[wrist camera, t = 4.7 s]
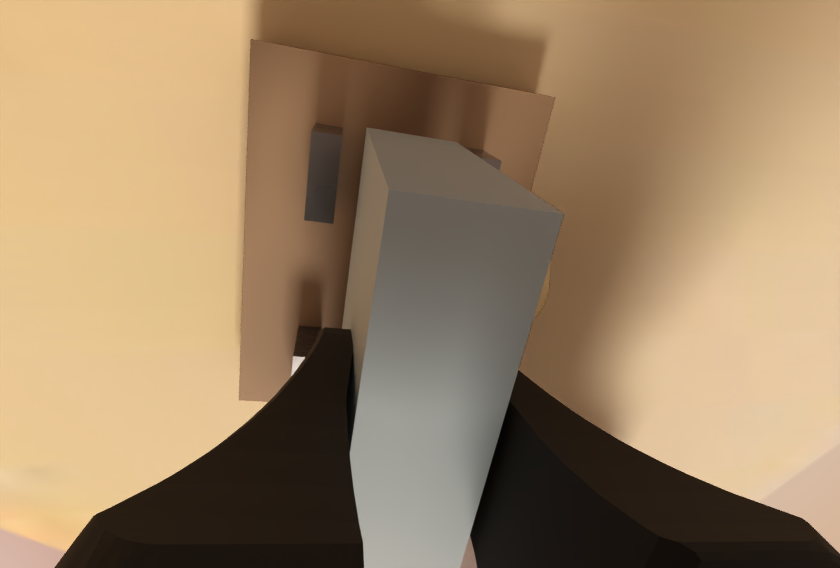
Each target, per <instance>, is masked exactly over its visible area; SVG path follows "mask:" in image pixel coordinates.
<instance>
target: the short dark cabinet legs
mask: <svg viewBox="0 0 840 568" xmlns="http://www.w3.org/2000/svg"><path fill="white" fill-rule="evenodd" d="M342 137H343V127H337V126H331V125H325V124H319V123H315V125H314V127H313V129H312V131H311V141H310V154H309V166H308V178H307V190H306V203H305V215H304V220H305V221H314V222H322V223H330V224H333V222H334V213H335V203H336V194H337V185H338V175H339V166H340V156H341V147H342ZM465 148H466V147H465ZM466 149H468V150H469V151H471V152H472V153H474V154H475V155H477V156H478V157H480V158H481V159H483V160H484V161H486V162H487V163H489V164H490V165H492V166H493V167H495V168H496V169H498V170H499V171H500V167H501V163H502V161H501V160H499V159H497V158H496V157H494V156H492V155H491V154H489V153H487V152H485V151H484V150H479V149H472V148H466ZM321 329H322V327H311V326H298V332H297V337H296V343H295V348H294V353H293V362H292V374H291V376H292V375H293V374H294V372H295V371H296V370H297V368H298V367H299V366H300V364H301V363H302V361H303V360H304V359H305V357H306V356H307V354H308V353H309V351H310V349H311V348H312V346H313V344H314V343H315V341H316V338H317V336H318V333H319V331H320V330H321Z"/></svg>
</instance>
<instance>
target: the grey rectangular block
mask: <svg viewBox="0 0 840 568" xmlns="http://www.w3.org/2000/svg"><path fill="white" fill-rule="evenodd" d="M563 216H564V213H562V212H561V211H559V210H558V209H556V208H555V207H553V206H552V205H550V204H549V203H547V202H546V201H544V200H543V199H541V198H540V197H538V196H537V195H535V194H534V193H532V192H531V191H529V190H528V189H526V188H525V187H523V186H522V185H520V184H519V183H517V182H516V181H514V180H513V179H511V178H510V177H508V176H507V175H505V174H504V173H502V172H501V171H499V170H498V169H496V168H495V167H493V166H492V165H490V164H489V163H487V162H486V161H484V160H483V159H481V158H480V157H478V156H477V155H475V154H474V153H472V152H471V151H469V150H468V149H466V148H465V147H463V146H462V145H460V144H459V143H457V142H453V141H446V140H440V139H434V138H428V137H422V136H416V135H410V134H404V133H398V132H392V131H386V130H379V129H373V128H367V129H366V137H365V145H364V153H363V161H362V169H361V177H360V185H359V194H358V202H357V210H356V218H355V226H354V234H353V242H352V250H351V258H350V266H349V274H348V283H347V291H346V299H345V307H344V315H343V323H342V329H351V334H352V341H353V353H352V361H351V368H350V375H349V383H348V390H347V398H346V408H347V426H348V439H349V452H350V462H351V471H352V479H353V488H354V495H355V501H356V507H357V513H358V520H359V525H360V530H361V535H362V540H363V552H364V568H460V567H461V563H462V560H463V557H464V553H465V550H466V546H467V543H468V539H469V536H470V533H471V529H472V526H473V522H474V519H475V516H476V512H477V509H478V505H479V502H480V499H481V495H482V492H483V488H484V485H485V482H486V478H487V475H488V471H489V468H490V465H491V461H492V458H493V454H494V451H495V448H496V444H497V441H498V437H499V434H500V431H501V427H502V424H503V420H504V417H505V414H506V410H507V407H508V403H509V400H510V397H511V393H512V390H513V386H514V383H515V380H516V376H517V373H518V369H519V366H520V363H521V359H522V356H523V352H524V349H525V346H526V342H527V339H528V335H529V332H530V329H531V325H532V322H533V318H534V317H536V316H537V315H538V314H539V313H540V311H541V310H542V308H543V306H544V304H545V301H546V298H547V295H548V290H549V284H550V260H551V257H552V254H553V250H554V247H555V243H556V240H557V237H558V233H559V230H560V226H561V223H562V220H563Z"/></svg>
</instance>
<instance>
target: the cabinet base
mask: <svg viewBox="0 0 840 568" xmlns="http://www.w3.org/2000/svg"><path fill="white" fill-rule="evenodd" d="M554 100H555V97H551V96H546V95H541V94H535V93H530V92H525V91H520V90H514V89H509V88H504V87H499V86H494V85H488V84H483V83H478V82H473V81H467V80H462V79H457V78H452V77H446V76H441V75H436V74H431V73H425V72H420V71H415V70H410V69H404V68H399V67H394V66H389V65H384V64H378V63H373V62H368V61H363V60H357V59H352V58H347V57H342V56H336V55H331V54H326V53H321V52H315V51H310V50H305V49H300V48H294V47H289V46H284V45H279V44H274V43H268V42H263V41H258V40H253V39H251V49H250V79H249V109H248V139H247V169H246V199H245V229H244V260H243V290H242V320H241V350H240V380H239V400H245V401H264V402H269V401H270V400H271V399H272V398H273V397H274V396H275V395H276V393H277V392H278V391H279V390H280V389H281V388H282V387H283V385H284V384H285V383H286V382H287V381H288V380H289V378H290V377H291V374H292V362H293V353H294V348H295V343H296V337H297V332H298V326H311V327H322V329H323V328H324V327H328V328H340V329H342V323H343V315H344V307H345V299H346V291H347V283H348V274H349V266H350V258H351V250H352V242H353V234H354V226H355V218H356V210H357V202H358V194H359V185H360V177H361V169H362V161H363V153H364V145H365V137H366V129H367V128H373V129H379V130H386V131H392V132H398V133H404V134H410V135H416V136H422V137H428V138H434V139H440V140H446V141H453V142H457V143H459V144H460V145H462V146H463V147H466V148H472V149H479V150H484V151H485V152H487V153H489V154H491V155H492V156H494V157H496V158H497V159H499V160H501V161H502V163H501V167H500V171H501V172H502V173H504V174H505V175H507V176H508V177H510V178H511V179H513V180H514V181H516V182H517V183H519V184H520V185H522V186H523V187H525V188H526V189H528V190H529V191H531V189H532V185H533V181H534V177H535V173H536V169H537V166H538V162H539V158H540V154H541V150H542V146H543V143H544V139H545V135H546V131H547V127H548V123H549V119H550V116H551V112H552V108H553V104H554ZM315 123H319V124H325V125H331V126H337V127H343V137H342V147H341V156H340V166H339V175H338V185H337V194H336V203H335V213H334V222H333V224H330V223H322V222H314V221H305V220H304V215H305V203H306V190H307V178H308V166H309V154H310V141H311V131H312V129H313V127H314V125H315Z"/></svg>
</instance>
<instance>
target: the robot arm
mask: <svg viewBox="0 0 840 568" xmlns="http://www.w3.org/2000/svg"><path fill="white" fill-rule="evenodd" d="M352 353H353V341H352V334H351V329H340V328H328V327H324V328H323V329H321V330H320V331H319V333H318V336H317V338H316V341H315V343H314V344H313V346H312V348H311V349H310V351H309V353H308V354H307V356H306V357H305V359H304V360H303V361H302V363H301V364H300V366H299V367H298V368H297V370H296V371H295V372H294V374H293V375H292V376H291V377H290V378H289V380H288V381H287V382H286V383H285V384H284V385H283V387H282V388H281V389H280V390H279V391H278V392H277V393H276V395H275V396H274V397H273V398H272V399H271V400H270V401H269V402H268V403H267V404H266V405H265V406H264V407H263V408H262V409H261V410H260V411H259V412H258V413H256V414H255V415H254V416H253V417H252V418H251V419H250V420H249V421H248V422H246V423H245V424H244V425H243V426H242V427H240V428H239V429H238V430H237V431H235V432H234V433H233V434H232V435H231V436H229V437H228V438H227V439H226V440H224V441H223V442H222V443H220V444H219V445H218V446H216V447H215V448H214V449H212V450H211V451H209V452H208V453H206V454H205V455H203V456H202V457H200V458H199V459H197V460H196V461H194V462H193V463H191V464H189V465H188V466H186V467H185V468H183V469H182V470H180V471H178V472H177V473H175V474H173V475H172V476H170V477H168V478H166V479H165V480H163V481H161V482H159V483H158V484H156V485H154V486H152V487H150V488H148V489H146V490H144V491H142V492H140V493H138V494H136V495H134V496H132V497H130V498H128V499H126V500H124V501H122V502H121V503H119V504H117V505H115V506H113V507H111V508H109V509H106V510H104V511H102V512H100V513H98V514H96V515H95V516H93V518H92V519H91V520H90V521H89V523H88V524H87V525H86V527H85V528H84V529H83V530H82V532H81V533H80V534H79V536H78V537H77V538H76V540H75V541H74V542H73V544H72V545H71V546H70V548H69V549H68V550H67V552H66V553H65V554H64V556H63V557H62V558H61V560H60V561H59V562H58V564H57V565H56V566H55V568H364V552H363V540H362V535H361V530H360V525H359V520H358V513H357V507H356V501H355V495H354V488H353V479H352V471H351V462H350V452H349V439H348V426H347V408H346V398H347V390H348V383H349V375H350V368H351V361H352ZM460 568H840V554H839V553H838V552H837V551H836V550H835V549H834V548H833V547H832V546H831V545H830V544H829V543H828V542H827V541H826V540H825V539H824V538H823V537H822V536H821V535H820V534H819V533H818V532H817V531H816V530H815V529H814V528H813V527H812V526H811V525H810V524H809V523H808V522H806V521H805V520H804V519H802V518H800V517H797V516H794V515H791V514H789V513H786V512H783V511H780V510H777V509H775V508H772V507H769V506H766V505H764V504H761V503H758V502H755V501H753V500H750V499H747V498H744V497H741V496H739V495H736V494H733V493H731V492H728V491H726V490H723V489H721V488H718V487H716V486H714V485H711V484H709V483H707V482H704V481H702V480H700V479H697V478H695V477H692V476H690V475H688V474H686V473H684V472H681V471H679V470H677V469H675V468H673V467H671V466H668V465H666V464H664V463H662V462H660V461H658V460H656V459H654V458H652V457H650V456H648V455H646V454H644V453H643V452H641V451H639V450H637V449H635V448H633V447H631V446H629V445H627V444H625V443H624V442H622V441H620V440H618V439H616V438H615V437H613V436H611V435H610V434H608V433H606V432H605V431H603V430H601V429H600V428H598V427H597V426H595V425H593V424H592V423H590V422H588V421H587V420H585V419H584V418H582V417H581V416H579V415H578V414H576V413H575V412H573V411H572V410H570V409H569V408H568V407H566V406H565V405H563V404H562V403H560V402H559V401H558V400H556V399H555V398H553V397H552V396H551V395H549V394H548V393H547V392H545V391H544V390H543V389H542V388H540V387H539V386H538V385H536V384H535V383H534V382H533V381H531V380H530V379H529V378H528V377H526V376H525V375H524V374H523V373H521V372H520V371H519V370H518V373H517V376H516V380H515V383H514V386H513V390H512V393H511V397H510V400H509V403H508V407H507V410H506V414H505V417H504V420H503V424H502V427H501V431H500V434H499V437H498V441H497V444H496V448H495V451H494V454H493V458H492V461H491V465H490V468H489V471H488V475H487V478H486V482H485V485H484V488H483V492H482V495H481V499H480V502H479V505H478V509H477V512H476V516H475V519H474V522H473V526H472V529H471V533H470V536H469V539H468V543H467V546H466V550H465V553H464V557H463V560H462V563H461V567H460Z"/></svg>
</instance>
